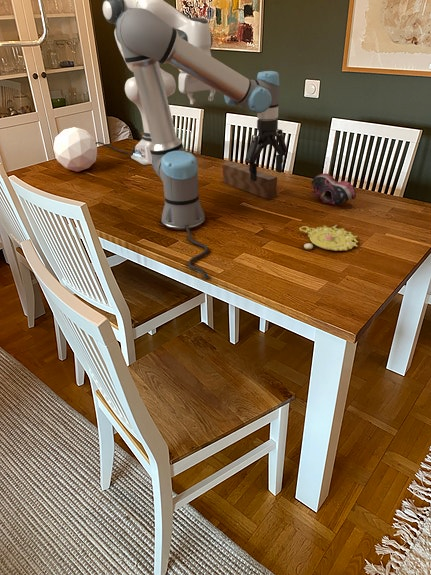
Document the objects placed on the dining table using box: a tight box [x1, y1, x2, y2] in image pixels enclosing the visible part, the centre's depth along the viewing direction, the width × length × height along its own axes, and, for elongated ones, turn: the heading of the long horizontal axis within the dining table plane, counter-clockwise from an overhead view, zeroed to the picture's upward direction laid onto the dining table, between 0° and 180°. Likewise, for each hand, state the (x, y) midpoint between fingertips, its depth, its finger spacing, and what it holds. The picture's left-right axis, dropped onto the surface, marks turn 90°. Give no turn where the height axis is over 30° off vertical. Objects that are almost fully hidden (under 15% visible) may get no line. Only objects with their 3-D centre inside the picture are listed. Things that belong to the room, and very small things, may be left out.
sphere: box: [52, 126, 98, 173], centre depth 205 cm, size 19×20×20 cm
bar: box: [222, 161, 278, 200], centre depth 180 cm, size 28×5×8 cm, turn 39°
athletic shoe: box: [309, 173, 357, 206], centre depth 167 cm, size 11×22×12 cm
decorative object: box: [299, 224, 359, 252], centre depth 141 cm, size 21×2×20 cm
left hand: (202, 102), depth 183 cm, fingers open, 8 cm apart
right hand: (266, 176), depth 172 cm, fingers open, 13 cm apart
